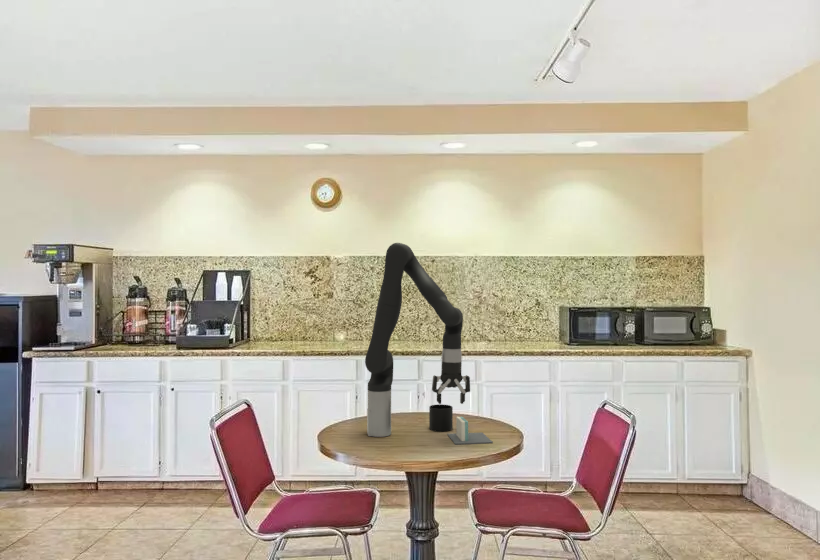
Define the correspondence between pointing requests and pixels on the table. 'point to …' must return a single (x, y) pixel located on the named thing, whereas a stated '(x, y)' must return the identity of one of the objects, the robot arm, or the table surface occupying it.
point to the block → (462, 428)
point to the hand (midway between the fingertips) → (450, 403)
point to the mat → (470, 439)
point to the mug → (440, 418)
